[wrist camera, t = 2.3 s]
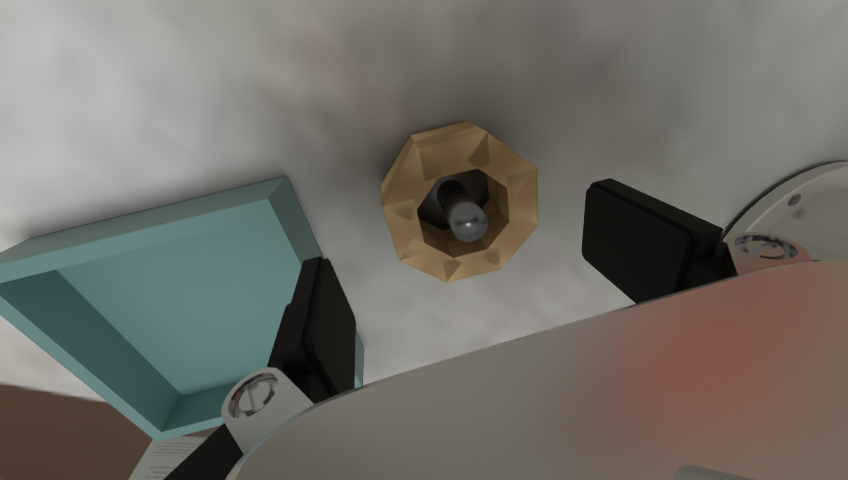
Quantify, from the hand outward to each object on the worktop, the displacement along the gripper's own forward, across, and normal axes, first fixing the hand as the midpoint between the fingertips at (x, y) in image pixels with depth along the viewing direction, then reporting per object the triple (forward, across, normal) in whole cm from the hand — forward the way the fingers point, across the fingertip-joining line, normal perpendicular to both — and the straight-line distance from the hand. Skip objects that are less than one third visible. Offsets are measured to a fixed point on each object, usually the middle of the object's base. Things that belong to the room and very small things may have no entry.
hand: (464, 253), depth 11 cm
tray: (+8, +14, +4) cm, 17 cm away
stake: (+7, -1, 0) cm, 8 cm away
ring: (+6, -1, 0) cm, 7 cm away
